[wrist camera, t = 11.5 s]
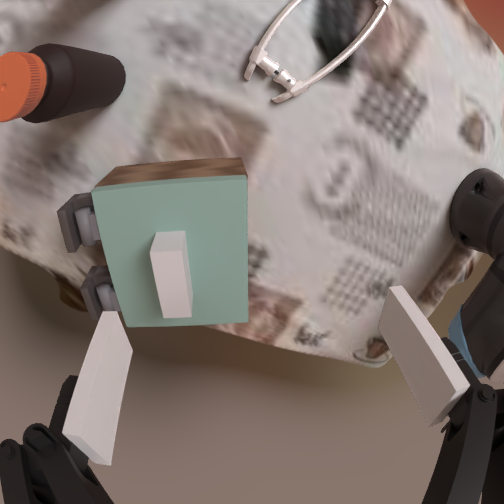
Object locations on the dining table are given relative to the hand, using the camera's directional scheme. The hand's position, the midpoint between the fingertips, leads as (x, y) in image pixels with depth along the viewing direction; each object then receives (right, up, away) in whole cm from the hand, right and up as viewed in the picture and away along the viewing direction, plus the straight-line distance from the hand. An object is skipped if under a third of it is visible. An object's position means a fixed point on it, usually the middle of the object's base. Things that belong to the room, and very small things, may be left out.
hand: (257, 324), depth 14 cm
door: (-10, +3, +20) cm, 22 cm away
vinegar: (-18, +24, +15) cm, 34 cm away
